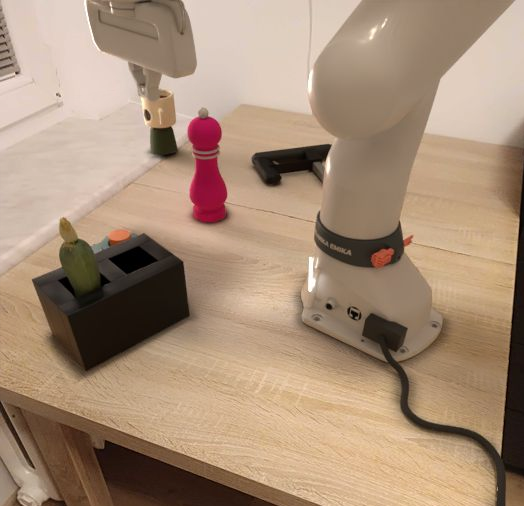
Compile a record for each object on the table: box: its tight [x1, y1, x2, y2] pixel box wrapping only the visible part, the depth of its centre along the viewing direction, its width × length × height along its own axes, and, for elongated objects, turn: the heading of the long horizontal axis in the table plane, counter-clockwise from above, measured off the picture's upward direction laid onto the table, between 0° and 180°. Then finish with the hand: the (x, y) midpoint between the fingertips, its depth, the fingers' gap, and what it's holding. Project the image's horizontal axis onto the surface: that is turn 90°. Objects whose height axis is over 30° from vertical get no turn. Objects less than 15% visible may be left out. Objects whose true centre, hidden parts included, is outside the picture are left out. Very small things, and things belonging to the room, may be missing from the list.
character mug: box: [140, 88, 178, 156], centre depth 114 cm, size 11×7×13 cm, turn 15°
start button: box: [107, 228, 131, 246], centre depth 83 cm, size 4×4×2 cm
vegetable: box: [58, 216, 101, 298], centre depth 66 cm, size 4×4×20 cm
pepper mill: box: [186, 107, 228, 223], centre depth 91 cm, size 7×7×20 cm
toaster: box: [31, 232, 190, 372], centre depth 71 cm, size 10×18×10 cm, turn 133°
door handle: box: [251, 143, 333, 185], centre depth 111 cm, size 3×20×16 cm
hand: (149, 98), depth 72 cm, fingers closed
